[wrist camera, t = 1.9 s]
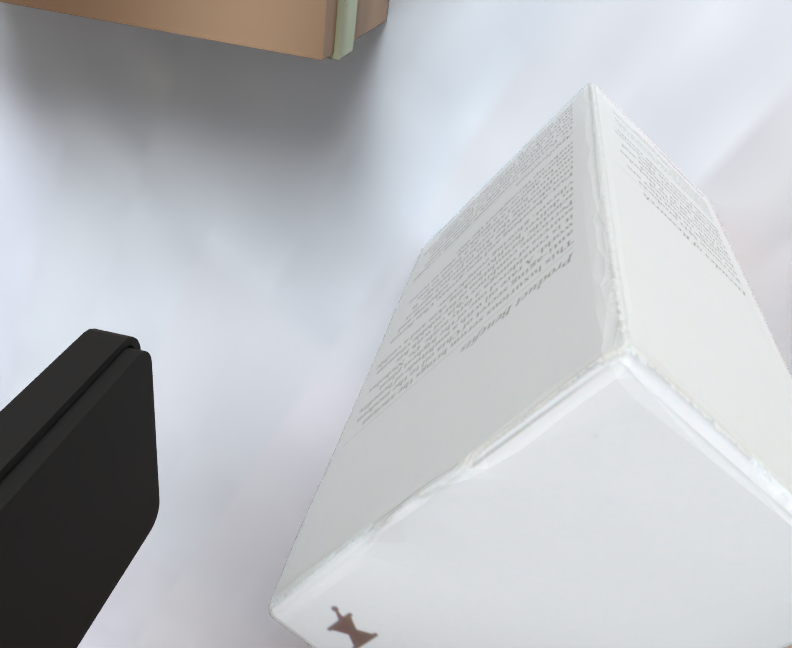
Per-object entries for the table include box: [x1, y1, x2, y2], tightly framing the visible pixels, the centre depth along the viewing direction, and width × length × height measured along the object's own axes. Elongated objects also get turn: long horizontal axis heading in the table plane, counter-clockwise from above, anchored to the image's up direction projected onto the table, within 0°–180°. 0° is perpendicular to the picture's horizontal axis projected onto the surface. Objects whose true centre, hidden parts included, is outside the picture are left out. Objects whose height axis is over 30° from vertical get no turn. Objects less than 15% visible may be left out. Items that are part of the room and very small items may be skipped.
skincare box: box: [269, 83, 792, 648], centre depth 14 cm, size 6×4×12 cm
